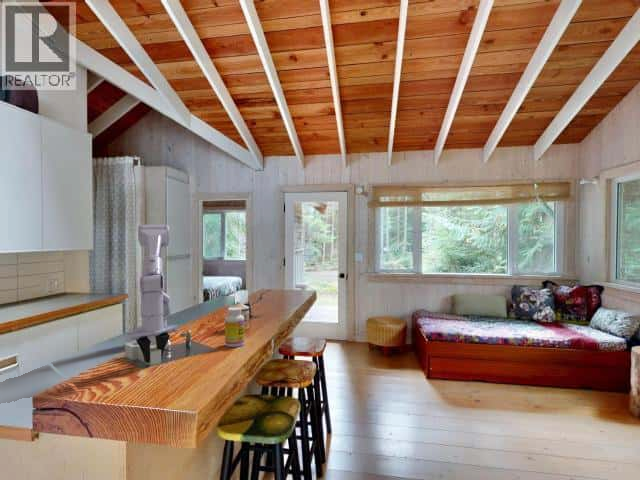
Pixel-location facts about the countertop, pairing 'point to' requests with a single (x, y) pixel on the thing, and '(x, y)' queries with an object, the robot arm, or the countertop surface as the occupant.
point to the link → (135, 353)
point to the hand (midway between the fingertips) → (153, 360)
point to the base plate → (176, 353)
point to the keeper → (187, 337)
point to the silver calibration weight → (168, 346)
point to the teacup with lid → (243, 313)
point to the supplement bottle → (234, 328)
